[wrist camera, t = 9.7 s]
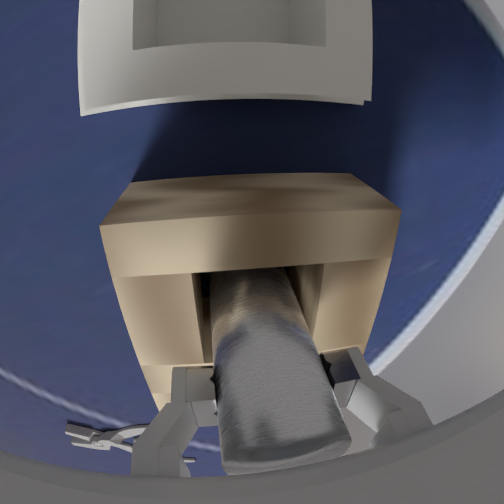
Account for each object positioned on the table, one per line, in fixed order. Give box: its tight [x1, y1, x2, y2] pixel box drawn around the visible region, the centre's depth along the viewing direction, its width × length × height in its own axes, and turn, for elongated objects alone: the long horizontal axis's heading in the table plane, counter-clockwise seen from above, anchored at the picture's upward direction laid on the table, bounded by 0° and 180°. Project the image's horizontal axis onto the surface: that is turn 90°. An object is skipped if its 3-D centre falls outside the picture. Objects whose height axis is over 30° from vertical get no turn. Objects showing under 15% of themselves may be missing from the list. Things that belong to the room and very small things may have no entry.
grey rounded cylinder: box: [209, 267, 351, 475], centre depth 13 cm, size 4×4×12 cm
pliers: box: [65, 423, 195, 462], centre depth 28 cm, size 10×2×15 cm
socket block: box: [99, 173, 402, 412], centre depth 17 cm, size 12×14×6 cm
